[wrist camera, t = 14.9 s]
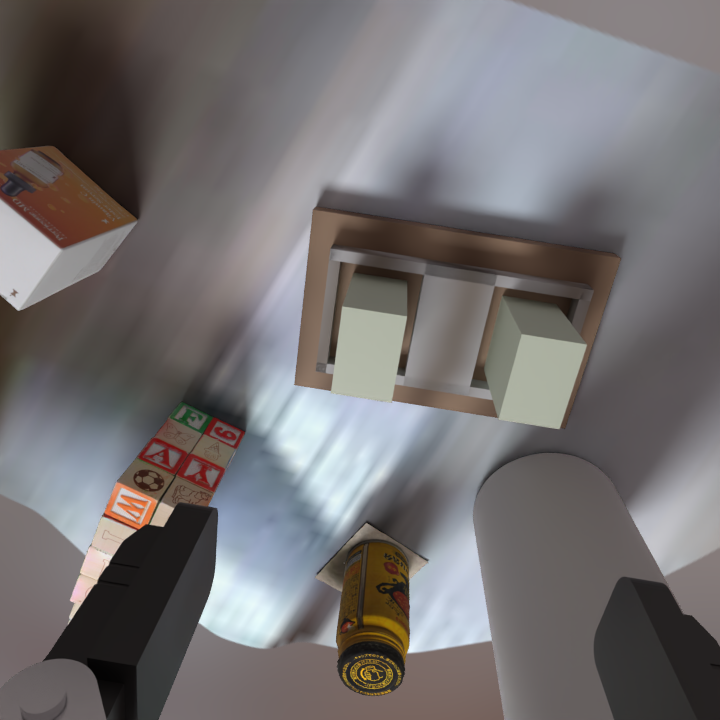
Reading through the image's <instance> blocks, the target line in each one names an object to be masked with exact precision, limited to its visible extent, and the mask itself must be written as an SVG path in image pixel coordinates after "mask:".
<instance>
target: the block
mask: <svg viewBox="0 0 720 720" xmlns="http://www.w3.org/2000/svg"><path fill="white" fill-rule="evenodd" d="M586 347H587V344H586V342H585V341H584V340H583V339H582V337H581V336H580V335H579V333H578V332H577V331H576V329H575V328H574V327H573V325H572V324H571V323H570V321H569V320H568V319H567V318H566V316H565V315H564V314H563V312H562V311H561V310H560V308H559V307H558V306H557V304H553V303H546V302H540V301H534V300H527V299H521V298H515V297H509V296H502V298H501V302H500V306H499V310H498V314H497V318H496V322H495V326H494V330H493V334H492V338H491V342H490V346H489V350H488V354H487V358H486V362H485V366H484V372H485V375H486V379H487V382H488V386H489V389H490V392H491V396H492V399H493V403H494V406H495V410H496V413H497V416H498V420H505V421H511V422H517V423H523V424H529V425H536V426H542V427H548V428H554V429H560V426H561V423H562V420H563V417H564V414H565V411H566V408H567V405H568V402H569V399H570V396H571V393H572V390H573V387H574V383H575V380H576V377H577V374H578V371H579V368H580V365H581V362H582V359H583V356H584V353H585V350H586Z"/></svg>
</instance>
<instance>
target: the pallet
mask: <svg viewBox="0 0 720 720" xmlns="http://www.w3.org/2000/svg"><path fill="white" fill-rule="evenodd" d="M620 261H621V258H620V257H619V256H617V255H616V254H614V253H608V252H602V251H596V250H589V249H583V248H577V247H570V246H564V245H557V244H551V243H545V242H538V241H532V240H526V239H519V238H513V237H507V236H500V235H494V234H488V233H481V232H475V231H469V230H462V229H456V228H450V227H443V226H437V225H431V224H424V223H418V222H411V221H405V220H399V219H392V218H386V217H380V216H373V215H367V214H361V213H354V212H348V211H342V210H335V209H329V208H323V207H315V208H314V209H313V215H312V224H311V234H310V243H309V253H308V262H307V271H306V281H305V290H304V299H303V309H302V318H301V328H300V337H299V346H298V356H297V365H296V375H295V384H294V385H298V386H304V387H310V388H317V389H323V390H329V391H331V388H332V381H333V373H334V365H335V358H336V350H337V343H338V335H339V328H340V320H341V312H342V306H343V303H344V300H345V297H346V294H347V291H348V288H349V285H350V282H351V279H352V276H353V273H359V274H366V275H372V276H379V277H385V278H392V279H398V280H405V281H407V320H406V326H405V331H404V337H403V342H402V348H401V353H400V359H399V364H398V370H397V375H396V381H395V386H394V392H393V397H392V401H397V402H403V403H409V404H415V405H422V406H428V407H434V408H440V409H446V410H453V411H459V412H465V413H471V414H477V415H484V416H490V417H496V418H498V416H497V413H496V410H495V406H494V403H493V399H492V396H491V392H490V389H489V386H488V382H487V379H486V375H485V372H484V366H485V362H486V358H487V354H488V350H489V346H490V342H491V338H492V334H493V330H494V326H495V322H496V318H497V314H498V310H499V306H500V302H501V298H502V296H509V297H515V298H521V299H527V300H534V301H540V302H546V303H553V304H557V306H558V307H559V308H560V310H561V311H562V312H563V314H564V315H565V316H566V318H567V319H568V320H569V321H570V323H571V324H572V325H573V327H574V328H575V329H576V331H577V332H578V333H579V335H580V336H581V337H582V339H583V340H584V341H585V342H586V344H587V347H586V350H585V353H584V356H583V359H582V362H581V365H580V368H579V371H578V374H577V377H576V380H575V383H574V387H573V390H572V393H571V396H570V399H569V402H568V405H567V408H566V411H565V414H564V417H563V420H562V423H561V426H560V428H564V429H565V427H566V424H567V421H568V418H569V415H570V412H571V409H572V406H573V403H574V400H575V397H576V394H577V391H578V388H579V385H580V382H581V379H582V376H583V373H584V370H585V367H586V364H587V361H588V358H589V354H590V351H591V348H592V345H593V342H594V339H595V336H596V333H597V330H598V327H599V324H600V321H601V318H602V315H603V312H604V309H605V306H606V303H607V300H608V297H609V294H610V291H611V288H612V285H613V282H614V279H615V276H616V273H617V270H618V267H619V264H620Z"/></svg>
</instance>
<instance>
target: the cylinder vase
mask: <svg viewBox="0 0 720 720" xmlns="http://www.w3.org/2000/svg"><path fill="white" fill-rule="evenodd" d="M473 523H474V529H475V536H476V542H477V548H478V555H479V561H480V567H481V574H482V580H483V586H484V593H485V599H486V605H487V612H488V618H489V624H490V630H491V637H492V643H493V648H494V656H495V662H496V668H497V675H498V681H499V687H500V693H501V700H502V706H503V712H504V719H505V720H614V718H613V715H612V712H611V709H610V706H609V703H608V700H607V697H606V694H605V692H604V689H603V686H602V683H601V680H600V677H599V674H598V671H597V668H596V664H595V660H594V637H595V633H596V630H597V627H598V625H599V623H600V620H601V618H602V615H603V613H604V611H605V608H606V606H607V604H608V601H609V599H610V597H611V594H612V592H613V590H614V587H615V585H616V583H617V581H618V580H619V579H620V578H621V577H631V578H637V579H643V580H649V581H655V582H661V583H664V584H665V585H666V586H667V587H668V588H669V590H670V591H671V589H670V587H669V585H668V583H667V582H666V580H665V578H664V576H663V574H662V572H661V571H660V569H659V567H658V565H657V563H656V561H655V560H654V558H653V556H652V554H651V552H650V550H649V549H648V547H647V545H646V543H645V541H644V539H643V538H642V536H641V534H640V532H639V530H638V529H637V527H636V525H635V523H634V521H633V519H632V518H631V516H630V514H629V512H628V510H627V508H626V507H625V505H624V503H623V501H622V499H621V498H620V496H619V494H618V492H617V490H616V488H615V487H614V485H613V483H612V482H611V480H610V479H609V478H608V477H607V476H606V475H605V474H604V473H603V472H602V471H601V470H600V469H599V468H597V467H596V466H595V465H593V464H591V463H590V462H588V461H586V460H583V459H581V458H578V457H575V456H572V455H567V454H562V453H538V454H532V455H528V456H524V457H521V458H518V459H516V460H513V461H511V462H509V463H507V464H506V465H504V466H502V467H501V468H499V469H498V470H497V471H496V472H494V473H493V474H492V475H491V476H490V477H489V478H488V479H487V481H486V482H485V483H484V484H483V486H482V487H481V489H480V491H479V493H478V495H477V497H476V500H475V504H474V509H473ZM671 593H672V591H671ZM672 595H673V597H674V599H675V600H676V598H675V596H674V594H673V593H672ZM676 602H677V600H676ZM677 604H678V606H679V608H680V610H681V611H682V609H681V607H680V605H679V603H678V602H677ZM682 613H683V611H682ZM683 614H684V613H683Z"/></svg>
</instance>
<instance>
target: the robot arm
mask: <svg viewBox="0 0 720 720" xmlns="http://www.w3.org/2000/svg"><path fill="white" fill-rule="evenodd" d="M217 524H218V511H217V508H214V507H207V506H201V505H195V504H189V503H183V502H179V503H178V504H177V505H176V506H175V508H174V510H173V511H172V513H171V515H170V517H169V518H168V520H167V522H166V523H165V525H164V527H161V526H155V525H149V524H145V525H144V526H143V527H141V528H140V529H139V530H137V531H136V532H134V533H133V534H132V535H130V536H129V537H128V538H126V539H125V540H124V541H123V542H122V543H121V545H120V547H119V548H118V550H117V551H116V553H115V554H114V556H113V557H112V559H111V560H110V562H109V565H108V566H106V568H105V569H104V571H103V572H102V574H101V575H100V577H99V578H98V581H97V584H94V586H93V587H92V589H91V590H90V592H89V593H88V595H87V597H86V598H85V600H84V601H83V603H82V604H81V606H80V607H79V609H78V610H77V612H76V613H75V615H74V616H73V618H72V619H71V621H70V622H69V624H68V625H67V627H66V629H65V630H64V632H63V633H62V635H61V636H60V637H59V639H58V640H57V642H56V644H55V645H54V647H53V648H52V650H51V651H50V653H49V654H48V655H47V656H46V658H45V659H44V660H43V661H42V662H40V663H36V664H34V665H32V666H29V667H27V668H25V669H24V670H22V671H20V672H19V673H17V674H16V675H14V676H13V677H12V678H11V679H9V680H8V682H6V683H5V684H4V685H3V686H2V687H1V688H0V720H158V719H159V717H160V715H161V712H162V710H163V707H164V705H165V702H166V700H167V697H168V695H169V693H170V690H171V688H172V685H173V683H174V680H175V678H176V676H177V673H178V671H179V668H180V666H181V663H182V660H183V658H184V656H185V654H186V651H187V648H188V646H189V644H190V641H191V639H192V636H193V634H194V631H195V629H196V627H197V624H198V622H199V619H200V617H201V614H202V612H203V609H204V607H205V605H206V602H207V600H208V597H209V594H210V591H211V587H212V583H213V578H214V573H215V562H216V543H217ZM594 660H595V664H596V668H597V671H598V674H599V677H600V680H601V683H602V686H603V689H604V692H605V694H606V697H607V700H608V703H609V706H610V709H611V712H612V715H613V718H614V720H720V646H719V645H718V643H717V641H716V640H715V639H714V638H713V637H712V636H711V635H710V634H709V633H708V632H707V631H706V630H705V629H704V628H703V627H702V626H701V625H700V623H699V622H697V620H695V618H694V617H692V616H690V615H685V614H683V613H682V611H681V610H680V608H679V606H678V604H677V602H676V600H675V599H674V597H673V595H672V593H671V591H670V590H669V588H668V587H667V586H666V585H665V584H664V583H661V582H655V581H649V580H643V579H637V578H631V577H621V578H620V579H619V580H618V581H617V583H616V585H615V587H614V590H613V592H612V594H611V597H610V599H609V601H608V604H607V606H606V608H605V611H604V613H603V615H602V618H601V620H600V623H599V625H598V627H597V630H596V633H595V637H594Z"/></svg>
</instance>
